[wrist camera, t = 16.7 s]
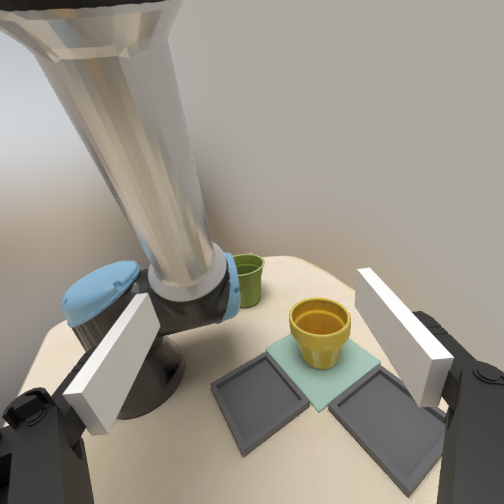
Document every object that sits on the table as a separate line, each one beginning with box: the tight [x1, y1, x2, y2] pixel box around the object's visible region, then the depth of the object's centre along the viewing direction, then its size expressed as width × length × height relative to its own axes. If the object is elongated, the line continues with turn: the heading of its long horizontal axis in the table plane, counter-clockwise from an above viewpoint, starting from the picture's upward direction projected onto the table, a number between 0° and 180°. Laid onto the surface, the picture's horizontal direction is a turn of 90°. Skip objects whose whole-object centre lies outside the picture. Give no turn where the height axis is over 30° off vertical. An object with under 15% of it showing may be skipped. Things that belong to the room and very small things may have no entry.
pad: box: [265, 334, 381, 412], centre depth 46 cm, size 15×15×1 cm
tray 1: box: [210, 351, 310, 457], centre depth 40 cm, size 12×12×2 cm
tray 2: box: [328, 364, 446, 498], centre depth 34 cm, size 12×12×2 cm
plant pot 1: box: [233, 254, 265, 308], centre depth 63 cm, size 12×12×11 cm
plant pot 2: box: [289, 298, 351, 369], centre depth 44 cm, size 10×10×10 cm
